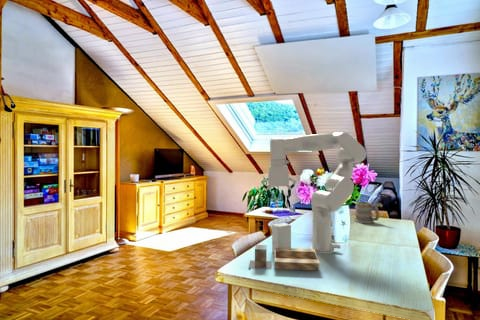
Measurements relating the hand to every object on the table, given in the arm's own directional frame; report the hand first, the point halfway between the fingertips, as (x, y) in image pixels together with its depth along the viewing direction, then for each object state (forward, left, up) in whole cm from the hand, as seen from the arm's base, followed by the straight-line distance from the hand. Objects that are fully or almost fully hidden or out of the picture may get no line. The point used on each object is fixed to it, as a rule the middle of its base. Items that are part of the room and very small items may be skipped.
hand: (279, 197), depth 163 cm
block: (+8, +15, -29) cm, 33 cm away
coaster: (+9, +15, -29) cm, 34 cm away
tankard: (-66, -85, -30) cm, 112 cm away
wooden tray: (-7, +13, -29) cm, 33 cm away
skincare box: (-1, -5, -30) cm, 30 cm away
